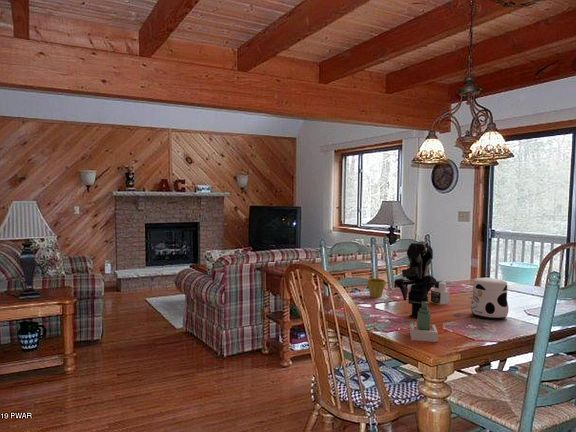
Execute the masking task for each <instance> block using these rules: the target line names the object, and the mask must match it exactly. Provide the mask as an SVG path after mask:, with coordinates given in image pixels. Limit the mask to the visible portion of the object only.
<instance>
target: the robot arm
mask: <svg viewBox="0 0 576 432" xmlns="http://www.w3.org/2000/svg"><path fill="white" fill-rule="evenodd" d="M429 244H430V243H429V242H428V241H425V240H424V241H417V242H411V243H410V244H409V245H408V247H407V251H406V256H407V259H408V262H409V265H408V266H409V267H407V269H402V270H401V275H402V278H396V279H395V280H394V282H393V285H395V286H396V287H397V288H399V290H400V291H401V295H402V298H403V301H404V302H406V301H407V298H408V304H409V305H411V313H410V314H409V317H412V318H417V319H418V311H420V308H421V307H422V301H426V302H428V303H429V296H428V294H429V291H431V290H432V288H433V287H434V288H435V285H436V282H437V279H436V278H435V277H434V276H432V275H431V274H429V275H427V268H428V266H430V264H432V260H433V258H434V251H433V248H432V247H431V246H430V245H429ZM403 278H405V279H406V280H405V279H403ZM409 285H410V290H409V288H408V286H409Z"/></svg>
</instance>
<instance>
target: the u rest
mask: <svg viewBox="0 0 576 432" xmlns="http://www.w3.org/2000/svg"><path fill="white" fill-rule="evenodd" d="M409 334H410V339H411V341H419V342H421V341H422V342H430V343H431V342H432V343H433V342H434V343H439V342H438V339H439V336H438V335H439V332H438V330H437V326H436V325H435V324H432V325H431V330H430V331H426V330H417V329H415V327H414V323H412V322H411V323H409Z"/></svg>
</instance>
